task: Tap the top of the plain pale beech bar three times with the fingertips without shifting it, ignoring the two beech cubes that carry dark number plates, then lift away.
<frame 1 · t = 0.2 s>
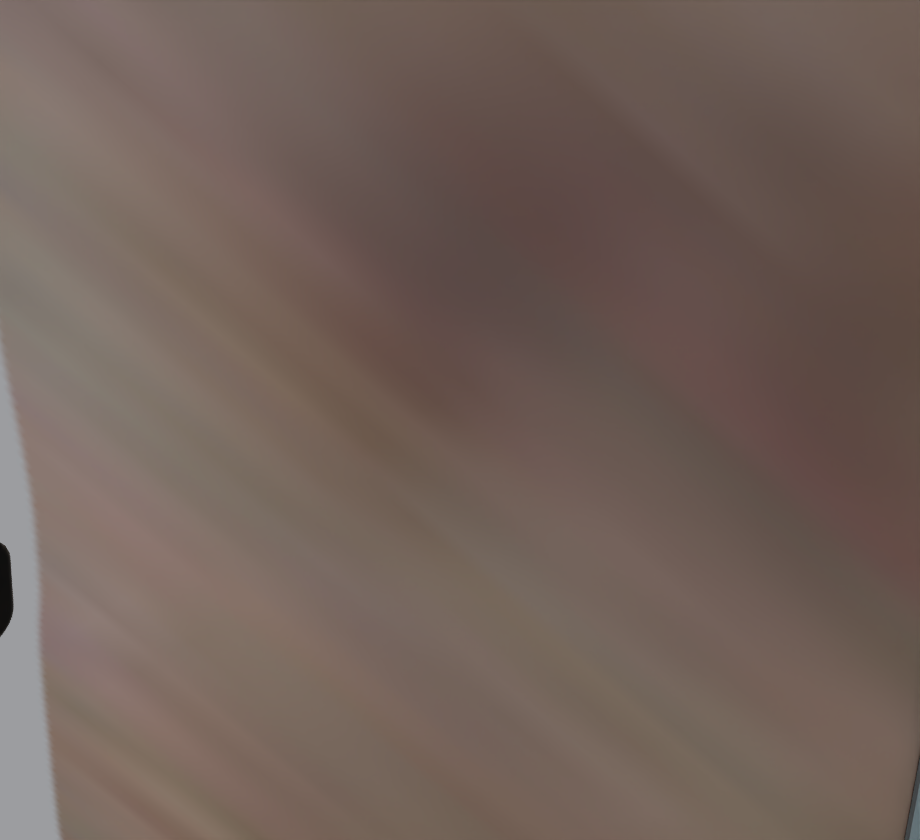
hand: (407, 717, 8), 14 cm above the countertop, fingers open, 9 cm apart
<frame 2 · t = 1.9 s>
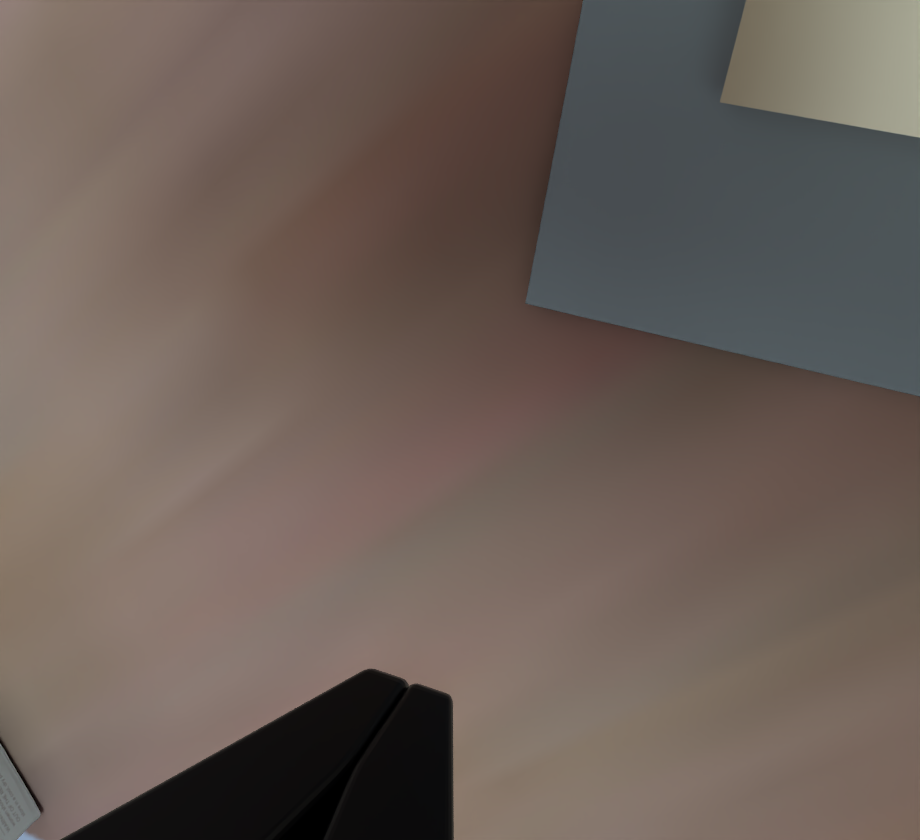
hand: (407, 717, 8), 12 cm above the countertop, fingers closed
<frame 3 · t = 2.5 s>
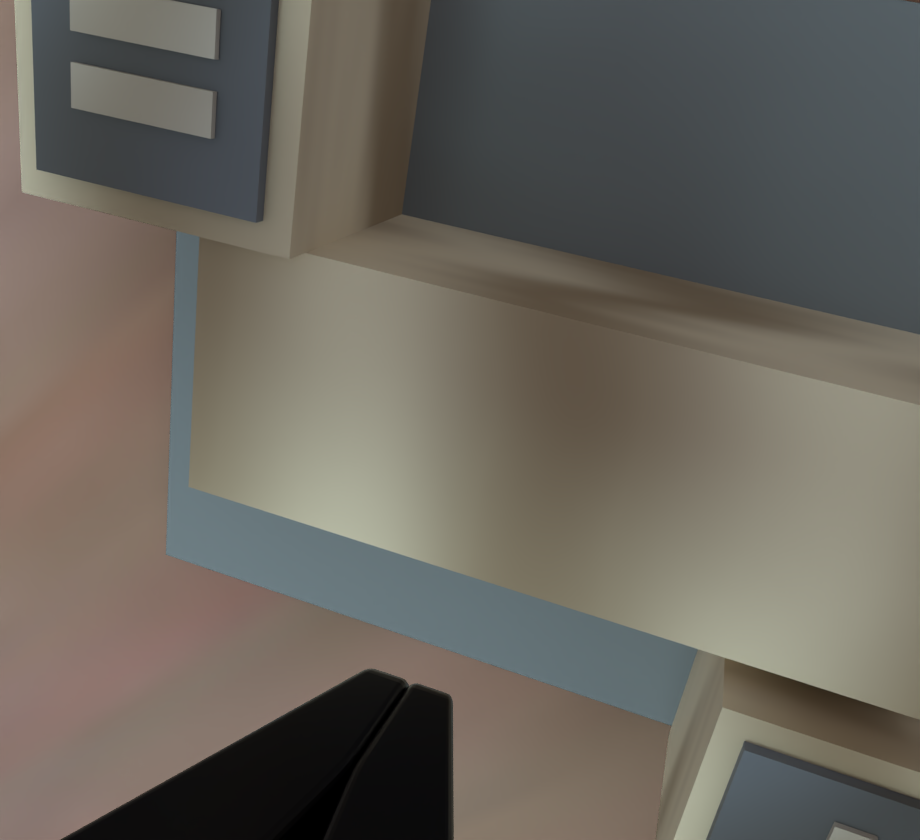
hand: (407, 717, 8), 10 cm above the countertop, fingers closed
plain bar: (596, 383, 16), resting on mat
mat: (574, 369, 17), on the countertop
number block a: (811, 687, 17), resting on mat
number block b: (303, 64, 16), resting on mat
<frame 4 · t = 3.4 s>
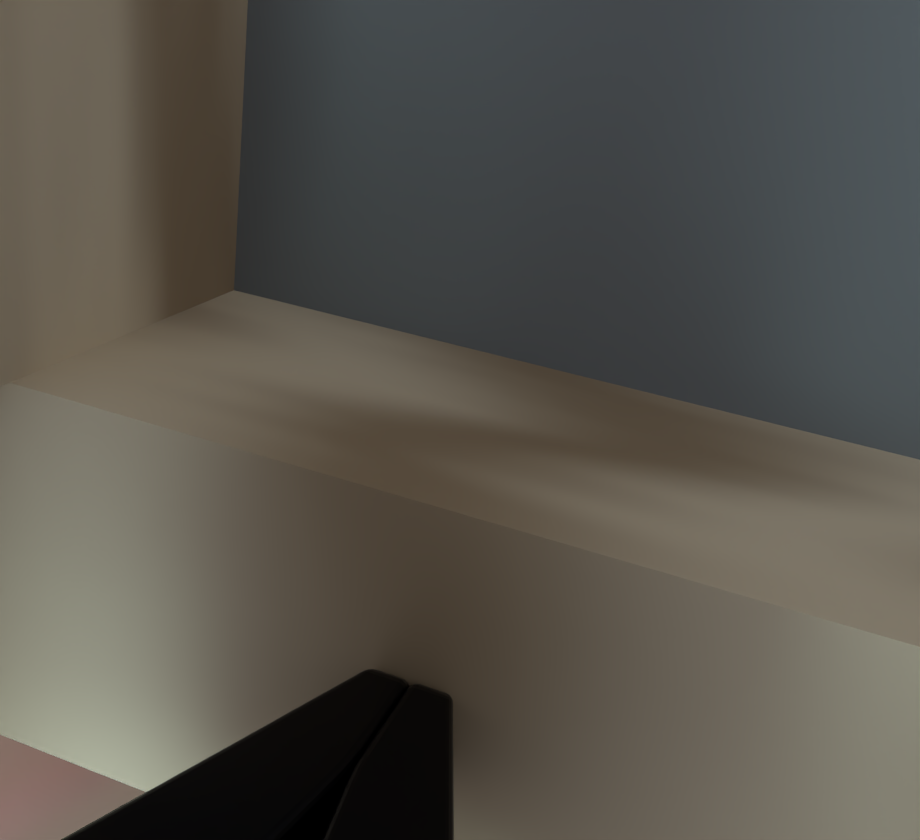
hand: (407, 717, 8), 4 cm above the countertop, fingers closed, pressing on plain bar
plain bar: (509, 522, 12), resting on mat, touching gripper, number block b
mat: (481, 499, 12), on the countertop
number block b: (86, 83, 11), resting on mat, touching plain bar
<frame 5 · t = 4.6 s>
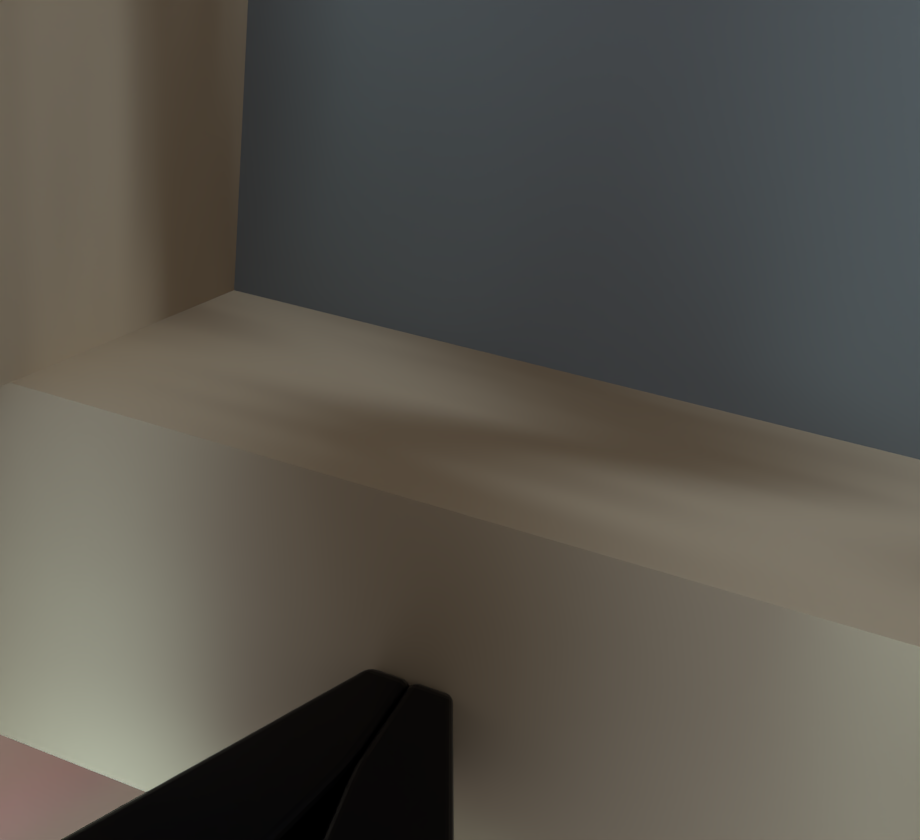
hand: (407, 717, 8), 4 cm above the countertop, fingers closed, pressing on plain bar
plain bar: (509, 522, 12), resting on mat, touching gripper, number block b
mat: (481, 499, 12), on the countertop
number block b: (87, 83, 11), resting on mat, touching plain bar
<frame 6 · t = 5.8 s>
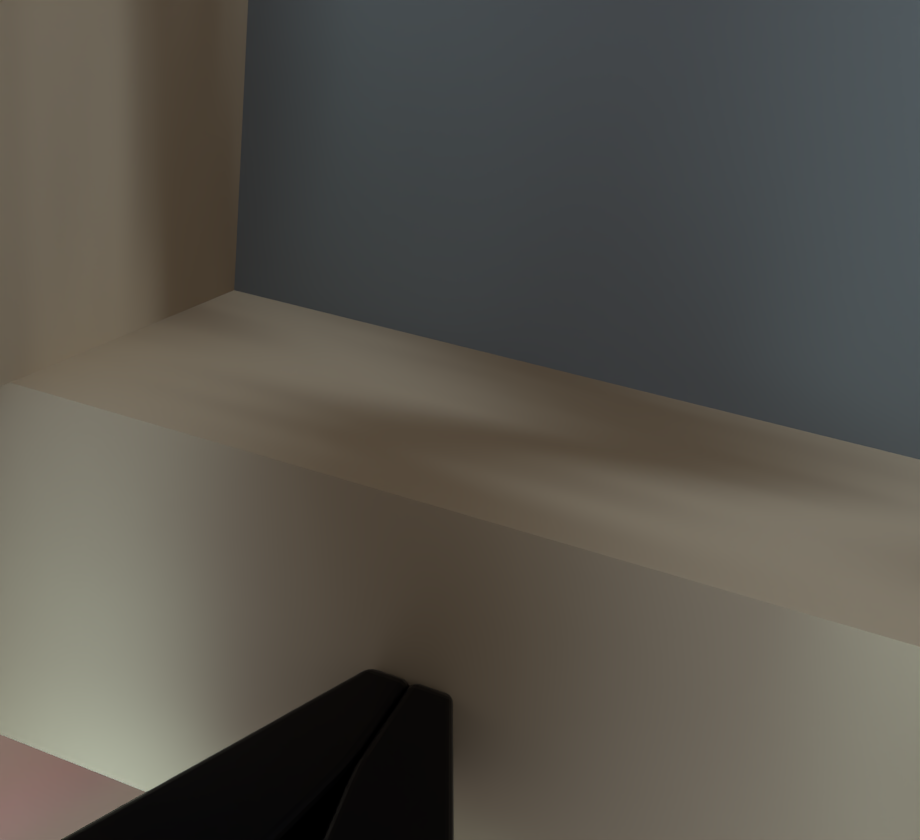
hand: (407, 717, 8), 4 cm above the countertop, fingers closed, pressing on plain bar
plain bar: (509, 522, 12), resting on mat, touching gripper, number block b
mat: (481, 499, 12), on the countertop
number block b: (87, 83, 11), resting on mat, touching plain bar
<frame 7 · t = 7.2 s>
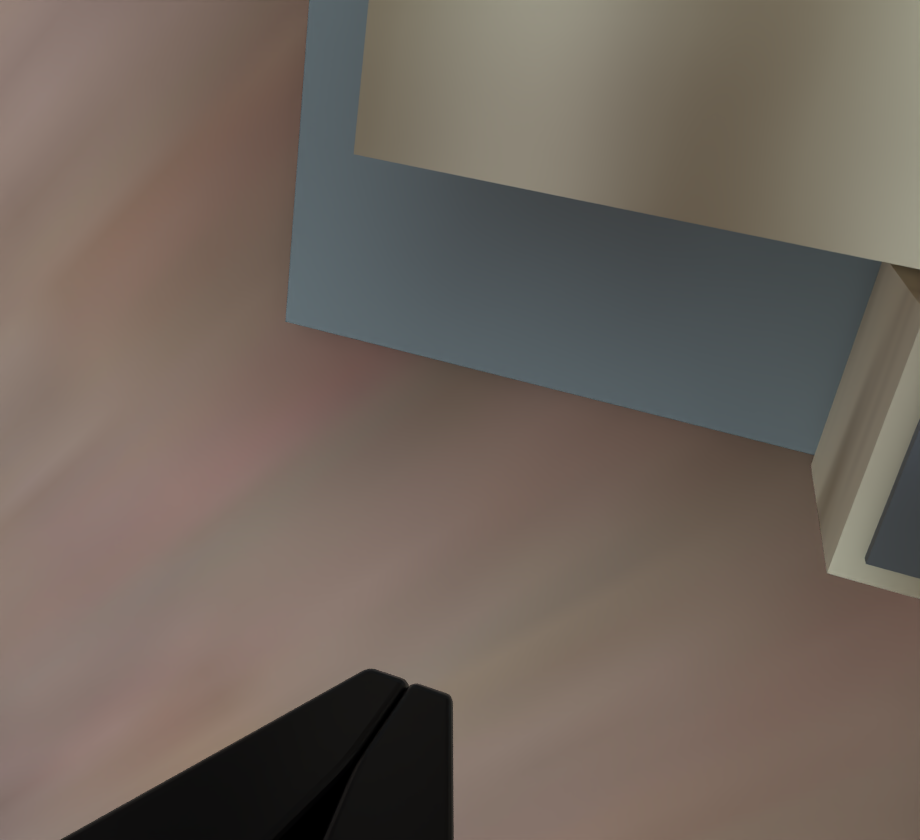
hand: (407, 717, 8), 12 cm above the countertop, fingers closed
plain bar: (750, 73, 16), resting on mat
mat: (724, 68, 17), on the countertop
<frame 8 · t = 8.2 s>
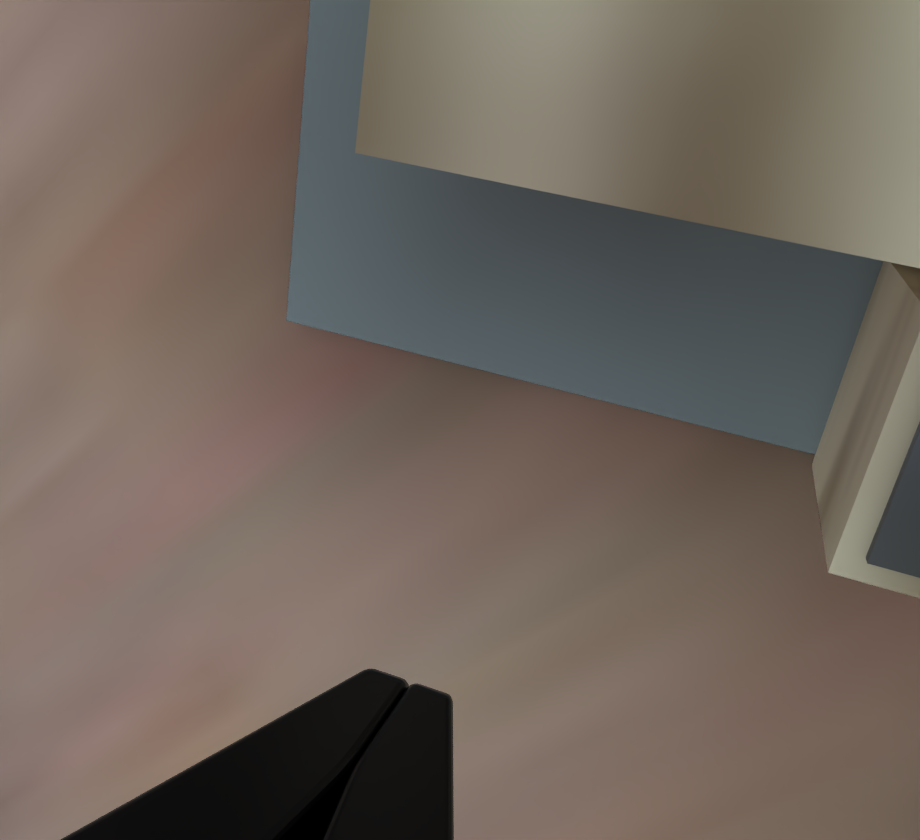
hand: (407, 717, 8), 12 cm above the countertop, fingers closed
plain bar: (752, 72, 16), resting on mat
mat: (725, 68, 17), on the countertop
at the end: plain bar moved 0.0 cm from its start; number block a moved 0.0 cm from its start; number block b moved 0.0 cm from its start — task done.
